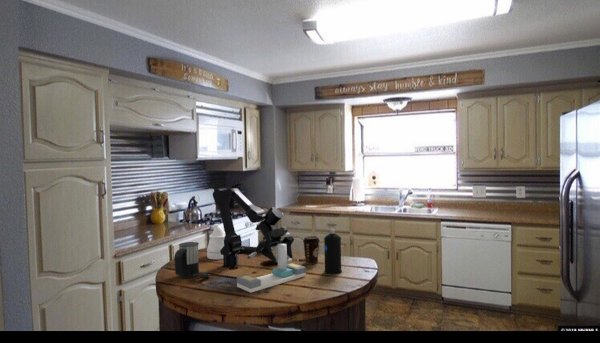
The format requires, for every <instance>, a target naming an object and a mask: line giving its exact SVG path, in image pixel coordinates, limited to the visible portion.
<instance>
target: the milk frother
mask: <svg viewBox="0 0 600 343" xmlns="http://www.w3.org/2000/svg"><path fill="white" fill-rule="evenodd" d="M199 244H200V243H199V242H198V241H187V242H186V241H185V242H181V243H179V244H178V246H179V247H178V248H179V249H178V250H176V251H175V253H174V257H173V258H174V259H173V260H174V270H175V275H176V276H178V278H181V279H191V278H196V277H203V278H204V279H208V278H209V277H212V276H211V275H212V274H209V271H208V272H204V273H200V268H199V267H200V266H199V261H200V260H199Z"/></svg>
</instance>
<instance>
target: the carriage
mask: <svg viewBox="0 0 600 343" xmlns="http://www.w3.org/2000/svg"><path fill="white" fill-rule="evenodd" d="M277 247H278V262H277V268H272V272H271V274H274V275H277V276H280V277H285V276H289V275H292V274H293V270H291V269H288V268H287V264H288V262H287V247H286V244H278V245H277Z"/></svg>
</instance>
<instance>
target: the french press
mask: <svg viewBox="0 0 600 343" xmlns="http://www.w3.org/2000/svg"><path fill="white" fill-rule="evenodd" d="M282 214H283V216H284V215H285V214H284V213H283V212H282ZM287 236H291V233H290V232H287V233H286V235H283V236H282V238H281V239H280V241H282V240H283V239H284V237H287ZM274 247H275V248H274ZM274 247H271V249H272V251H274V254H275V255H274V256H275V258H276V263H278V247H277V246H274ZM292 260H293V257H292V258H290V257H289V256H288V255H287V263H288V262H291V261H292Z"/></svg>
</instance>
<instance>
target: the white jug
mask: <svg viewBox="0 0 600 343" xmlns="http://www.w3.org/2000/svg"><path fill="white" fill-rule="evenodd" d="M213 228H214V230H213V231H212V233H211V234H210V235H209V237H208V238H209V241H208V246H207V248H206V249H207V250H206V254H207V255H206V258H207V259H208V260H223V255H221V253H220V250H221V249H222V248H223V246H224V238H225V231H224V228H222V227H221V226H219V224H217V223H216V224H213Z"/></svg>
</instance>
